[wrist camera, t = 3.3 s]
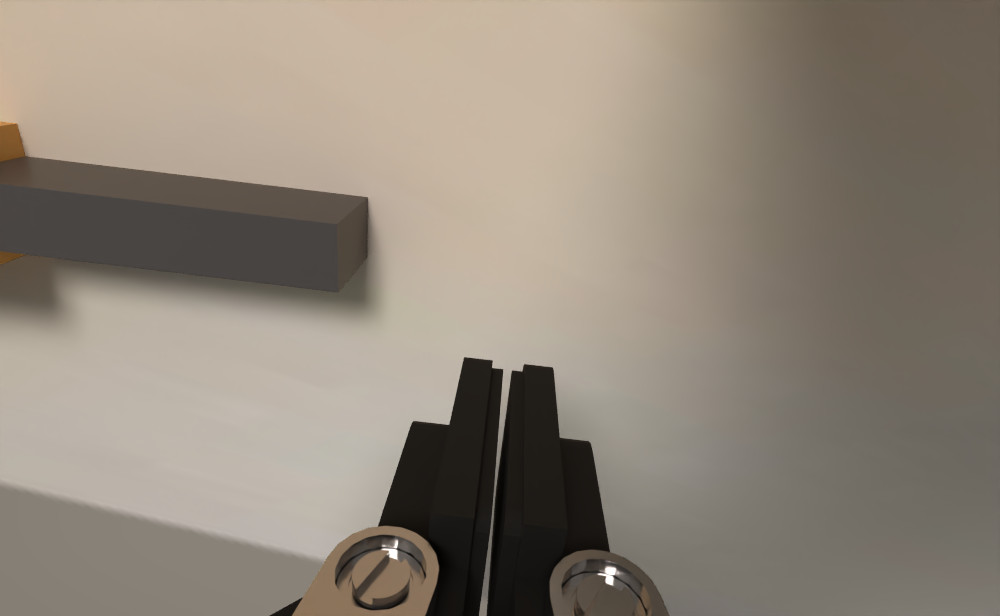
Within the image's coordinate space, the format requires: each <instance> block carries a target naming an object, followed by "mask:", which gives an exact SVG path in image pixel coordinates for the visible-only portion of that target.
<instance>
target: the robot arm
mask: <svg viewBox="0 0 1000 616" xmlns="http://www.w3.org/2000/svg"><path fill="white" fill-rule="evenodd" d="M492 362H493V361H492V360H483V359H475V358H466V357H464V361H463V365H462V370H461V374H460V379H459V383H458V388H457V393H456V397H455V402H454V406H453V411H452V416H451V420H450V425H443V424H435V423H426V422H418V421H413V422H412V425H411V427H410V430H409V433H408V436H407V439H406V442H405V445H404V448H403V451H402V454H401V458H400V461H399V464H398V467H397V470H396V473H395V476H394V479H393V482H392V485H391V488H390V491H389V494H388V497H387V501H386V504H385V507H384V510H383V513H382V516H381V519H380V522H379V525H378V527H372V528H367V529H364V530H362V531H359V532H356V533H354V534H352V535H350V536H349V537H347V538H346V539H345V540H343V541H342V542H340V543H339V544H338V545H337V546H336V547H335V549H334V550H333V551H332V552H331V553H330V554H329V556H328V557H327V559H326V560H325V562H324V564H323V565H322V567H321V569H320V571H319V572H318V574H317V575H316V577H315V579H314V580H313V582H312V584H311V585H310V587H309V588H308V590H307V592H306V593H305V595H304V597H303V598H301V599H299V600H297V601H295V602H293V603H292V604H290V605H288V606H286V607H285V608H283V609H281V610H279V611H278V612H276V613H274V614H272V615H270V616H479V610H480V602H481V595H482V587H483V580H484V572H485V565H486V557H487V550H488V542H489V534H490V526H491V516H492V506H493V493H494V480H495V468H496V455H497V442H498V429H499V417H500V404H501V391H502V378H503V369H495V368H492ZM487 616H669V614H668V612H667V609H666V607H665V605H664V602H663V600H662V597H661V595H660V593H659V592H658V590H657V588H656V586H655V585H654V583H653V581H652V580H651V579H650V578H649V577H648V576H647V575H646V574H645V573H644V572H643V571H642V570H641V569H640V568H639V567H638V566H637V565H635V564H633V563H632V562H630V561H629V560H627V559H626V558H624V557H621V556H619V555H616V554H613V553H610V550H609V544H608V538H607V533H606V527H605V521H604V515H603V509H602V504H601V498H600V492H599V486H598V481H597V475H596V469H595V463H594V457H593V452H592V447H591V443H590V442H589V441H581V440H573V439H564V438H560V437H559V426H558V414H557V403H556V392H555V381H554V370H553V368H552V367H543V366H535V365H526V364H524V367H523V372H521V371H512V375H511V382H510V389H509V397H508V404H507V412H506V419H505V427H504V434H503V442H502V449H501V457H500V464H499V472H498V479H497V487H496V496H495V508H494V522H493V536H492V549H491V563H490V577H489V590H488V604H487Z"/></svg>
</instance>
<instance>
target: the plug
mask: <svg viewBox="0 0 1000 616" xmlns="http://www.w3.org/2000/svg"><path fill="white" fill-rule="evenodd" d="M367 224H368V197H361V196H352V195H344V194H336V193H327V192H319V191H310V190H302V189H294V188H285V187H277V186H269V185H260V184H252V183H244V182H235V181H227V180H219V179H210V178H202V177H194V176H185V175H177V174H169V173H160V172H152V171H143V170H135V169H127V168H118V167H110V166H102V165H93V164H85V163H77V162H68V161H60V160H52V159H43V158H35V157H27V156H25V153H24V149H23V145H22V141H21V138H20V134H19V130H18V126H17V124H16V123H7V122H0V265H1V264H4V263H6V262H9V261H11V260H14V259H16V258H19V257H21V256H24V255H34V256H43V257H51V258H59V259H67V260H76V261H84V262H92V263H100V264H109V265H117V266H125V267H134V268H142V269H150V270H158V271H167V272H175V273H183V274H191V275H200V276H208V277H216V278H224V279H233V280H241V281H249V282H257V283H266V284H274V285H282V286H290V287H299V288H307V289H315V290H323V291H332V292H339V291H340V290H341V288H342V287H343V286H344V285H345V283H346V282H347V281H348V280H349V279H350V277H351V276H352V275H353V274H354V272H355V271H356V270H357V269H358V268H359V266H360V265H361V264H362V263H363V261H364V260H365V259H366V258H367Z"/></svg>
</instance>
